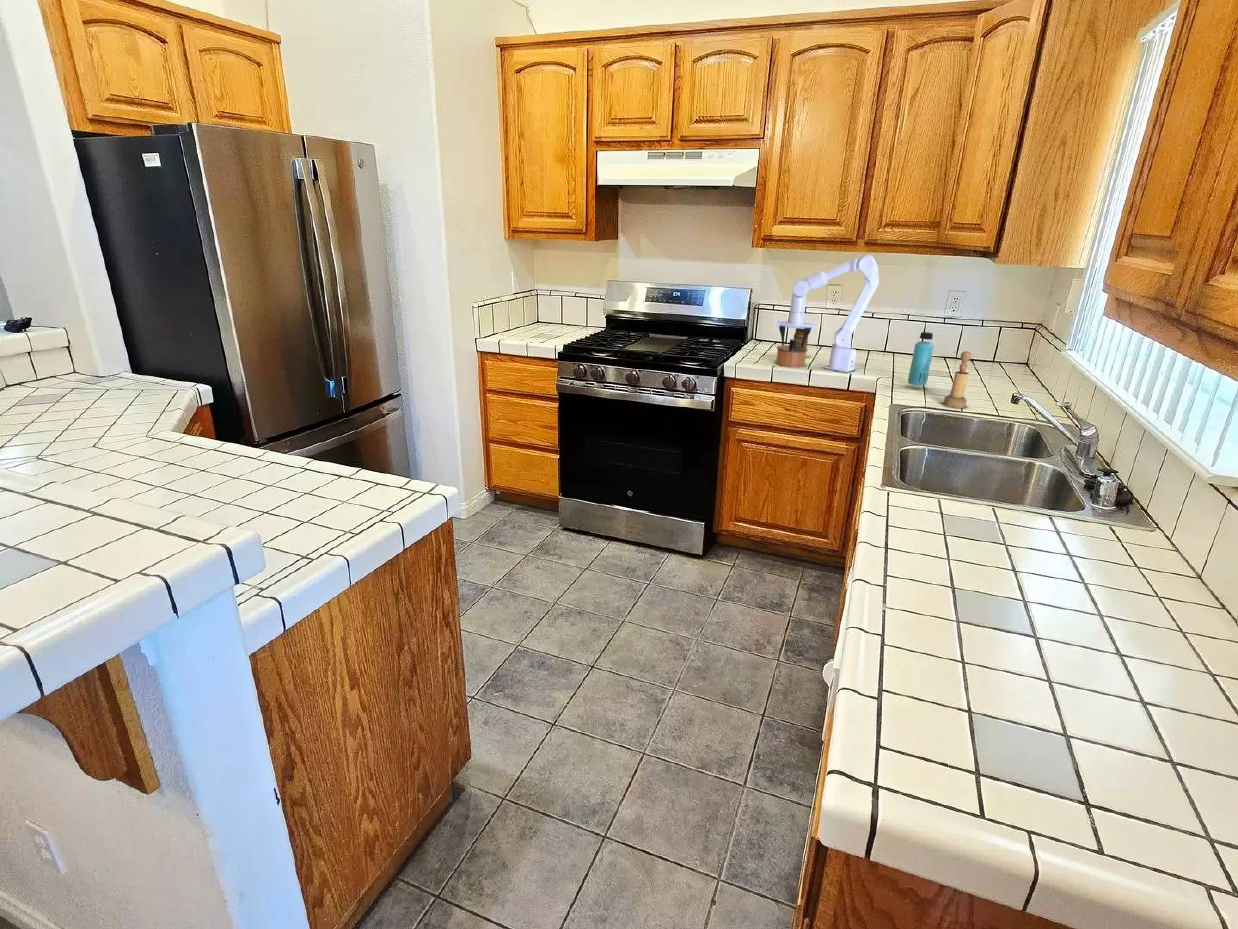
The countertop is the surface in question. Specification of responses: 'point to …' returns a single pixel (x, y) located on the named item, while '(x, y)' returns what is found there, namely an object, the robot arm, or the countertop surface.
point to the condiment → (800, 338)
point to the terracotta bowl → (790, 358)
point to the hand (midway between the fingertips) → (792, 345)
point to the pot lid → (792, 347)
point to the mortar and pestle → (959, 385)
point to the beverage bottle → (921, 360)
